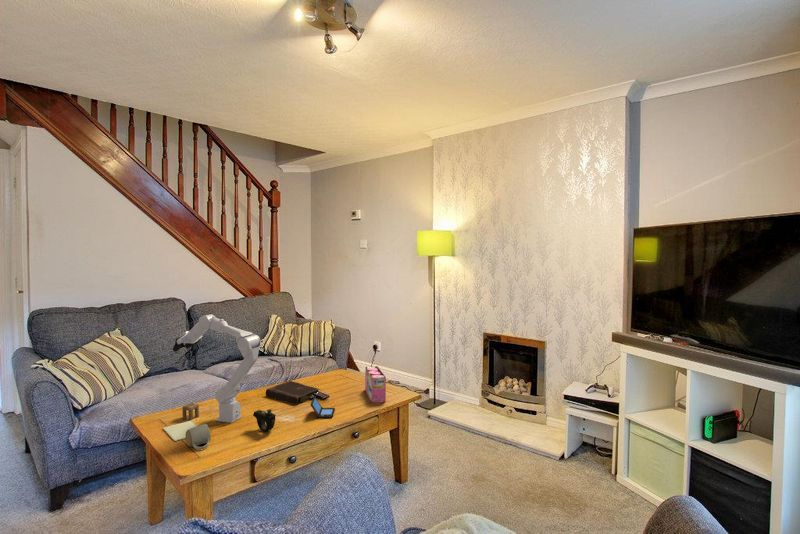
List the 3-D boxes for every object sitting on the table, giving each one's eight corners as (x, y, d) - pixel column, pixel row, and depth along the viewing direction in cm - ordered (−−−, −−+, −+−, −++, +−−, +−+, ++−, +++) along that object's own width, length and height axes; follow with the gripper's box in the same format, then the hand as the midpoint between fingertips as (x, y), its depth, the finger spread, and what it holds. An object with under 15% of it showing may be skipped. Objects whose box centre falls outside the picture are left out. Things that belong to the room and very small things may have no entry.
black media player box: (296, 406, 228) (296, 397, 228) (265, 397, 242) (265, 388, 242) (321, 396, 244) (321, 387, 244) (291, 388, 258) (290, 380, 258)
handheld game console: (332, 419, 211) (332, 404, 210) (310, 419, 210) (310, 404, 210) (335, 409, 223) (335, 395, 223) (314, 409, 223) (314, 395, 222)
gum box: (364, 389, 256) (364, 366, 255) (377, 388, 258) (377, 365, 257) (371, 402, 233) (371, 377, 232) (386, 401, 235) (386, 376, 234)
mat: (204, 433, 193) (204, 432, 193) (174, 441, 184) (174, 440, 184) (191, 421, 206) (191, 420, 206) (163, 428, 198) (163, 427, 198)
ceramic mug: (184, 444, 182) (184, 426, 182) (204, 438, 188) (204, 421, 187) (193, 453, 174) (192, 434, 174) (213, 447, 180) (213, 429, 180)
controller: (269, 435, 191) (269, 412, 191) (251, 428, 198) (251, 407, 198) (277, 431, 195) (277, 409, 194) (259, 425, 202) (259, 404, 201)
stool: (198, 416, 213) (198, 404, 213) (191, 420, 208) (190, 407, 208) (190, 415, 214) (190, 403, 214) (182, 418, 209) (182, 406, 209)
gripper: (202, 323, 221) (186, 339, 224) (180, 328, 207) (163, 345, 210) (210, 334, 220) (194, 350, 223) (188, 340, 206) (171, 356, 209)
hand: (180, 348), depth 217 cm, fingers open, 7 cm apart
